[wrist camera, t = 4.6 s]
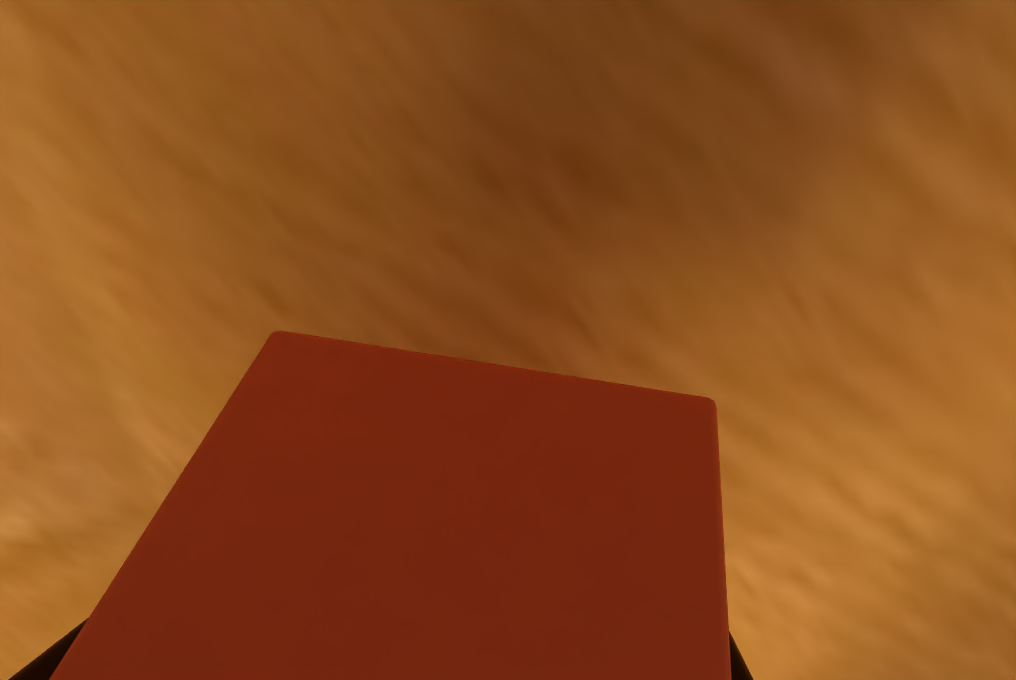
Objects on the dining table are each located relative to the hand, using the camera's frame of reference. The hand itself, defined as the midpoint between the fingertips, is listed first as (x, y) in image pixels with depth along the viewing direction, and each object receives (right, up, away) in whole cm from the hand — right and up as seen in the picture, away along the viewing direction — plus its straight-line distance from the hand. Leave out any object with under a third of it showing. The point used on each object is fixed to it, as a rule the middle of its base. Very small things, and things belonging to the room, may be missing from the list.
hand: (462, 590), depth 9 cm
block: (0, +1, +1) cm, 1 cm away
